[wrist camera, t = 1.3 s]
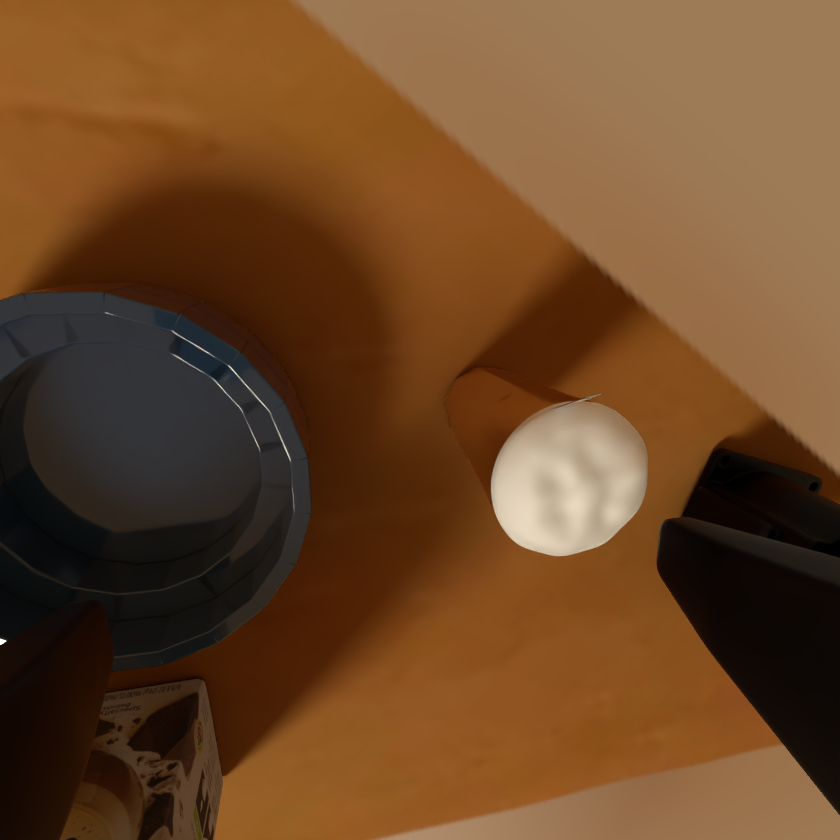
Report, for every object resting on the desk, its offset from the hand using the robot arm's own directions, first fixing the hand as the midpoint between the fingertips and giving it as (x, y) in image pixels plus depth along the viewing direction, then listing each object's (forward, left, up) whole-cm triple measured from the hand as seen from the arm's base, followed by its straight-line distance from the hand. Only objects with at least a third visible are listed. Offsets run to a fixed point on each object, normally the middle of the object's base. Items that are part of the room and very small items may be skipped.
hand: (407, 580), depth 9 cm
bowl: (+7, +4, -14) cm, 16 cm away
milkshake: (-5, -1, -14) cm, 15 cm away
